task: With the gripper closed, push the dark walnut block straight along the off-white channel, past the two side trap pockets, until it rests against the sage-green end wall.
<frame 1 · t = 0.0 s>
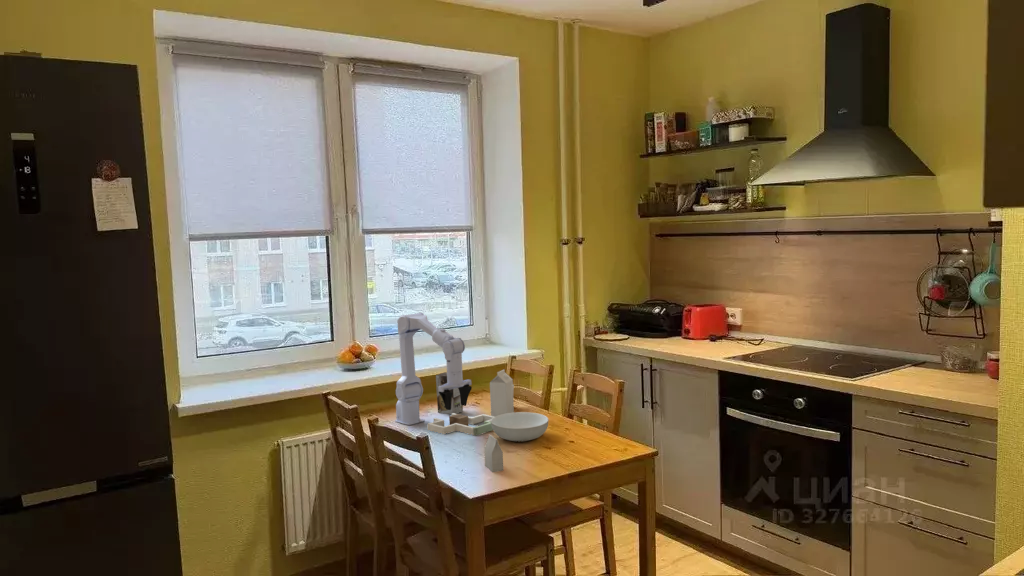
hand: (456, 407, 263), 10 cm above the table, tool pointing down, fingers open, 7 cm apart
trap channel: (464, 427, 273), on the table
coffee box: (450, 412, 297), on the table
gray house block: (494, 468, 225), on the table
cup: (502, 409, 299), on the table
walnut block: (459, 426, 275), resting in trap channel
milk carton: (502, 418, 285), on the table
serving bowl: (520, 438, 257), on the table
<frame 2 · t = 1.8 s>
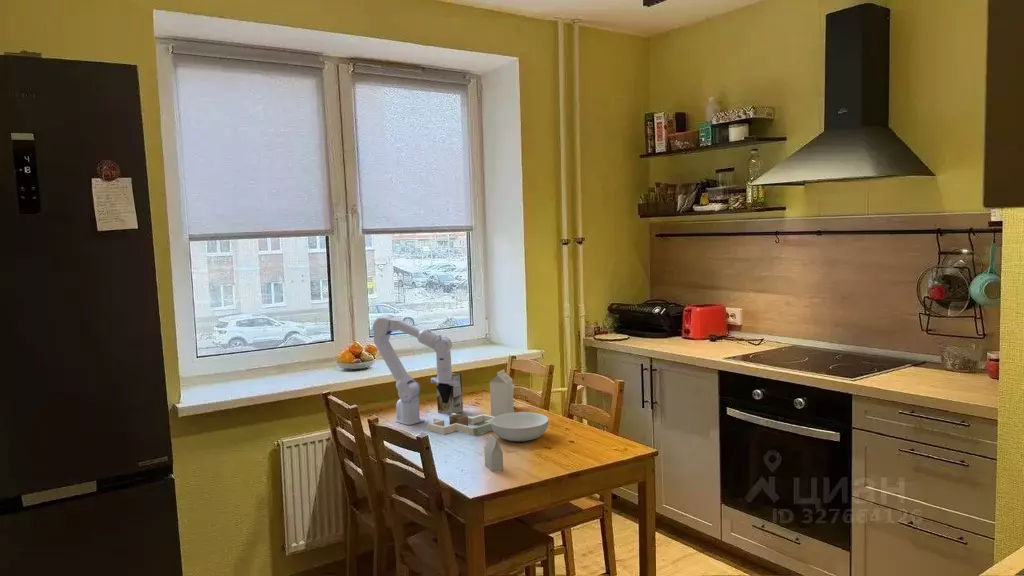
hand: (445, 402, 280), 8 cm above the table, tool pointing down, fingers closed
nothing on the table moved.
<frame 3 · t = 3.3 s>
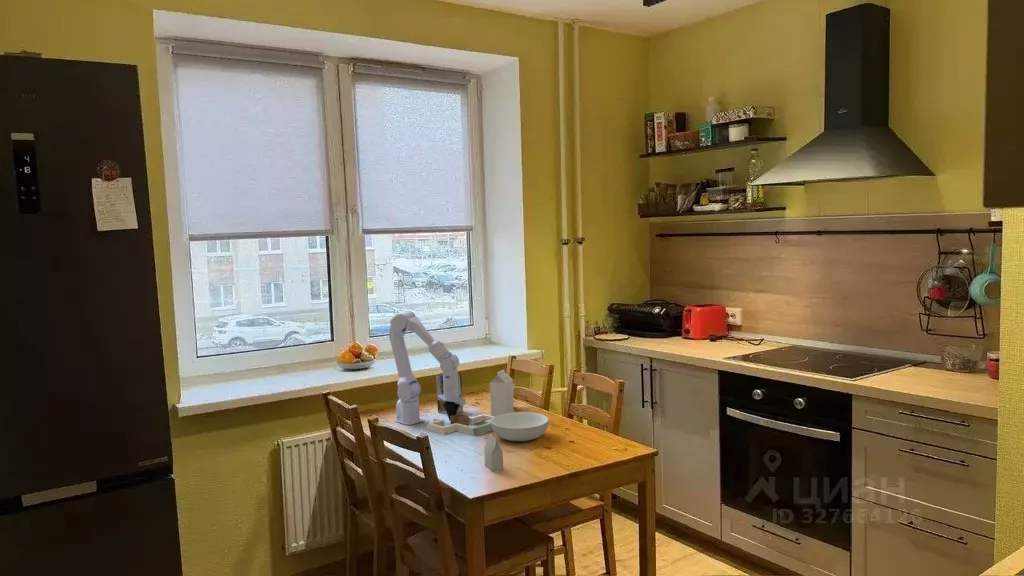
hand: (452, 420, 278), 1 cm above the table, tool pointing down, fingers closed
walnut block: (459, 426, 275), resting in trap channel, touching gripper
everything else where it was.
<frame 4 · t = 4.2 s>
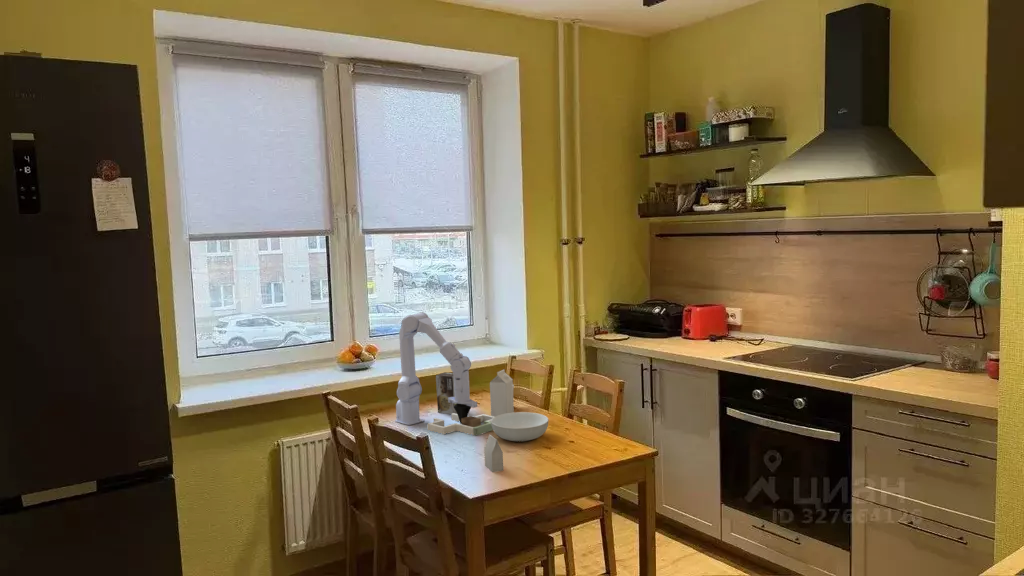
hand: (463, 423, 273), 1 cm above the table, tool pointing down, fingers closed
walnut block: (471, 428, 271), resting in trap channel, touching gripper
everything else where it was.
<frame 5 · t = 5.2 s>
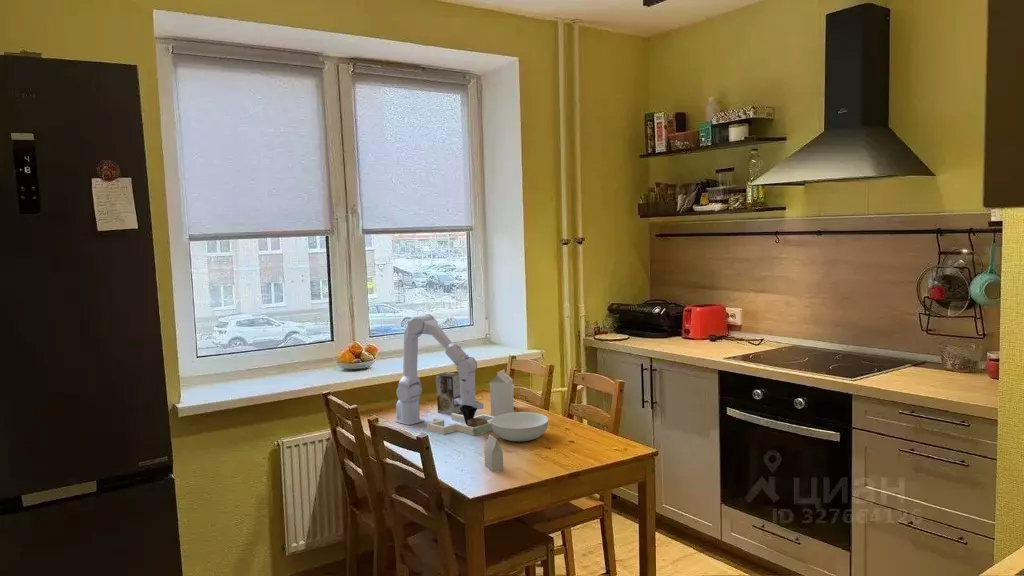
hand: (469, 424, 271), 1 cm above the table, tool pointing down, fingers closed
walnut block: (477, 430, 268), resting in trap channel, touching gripper
everything else where it was.
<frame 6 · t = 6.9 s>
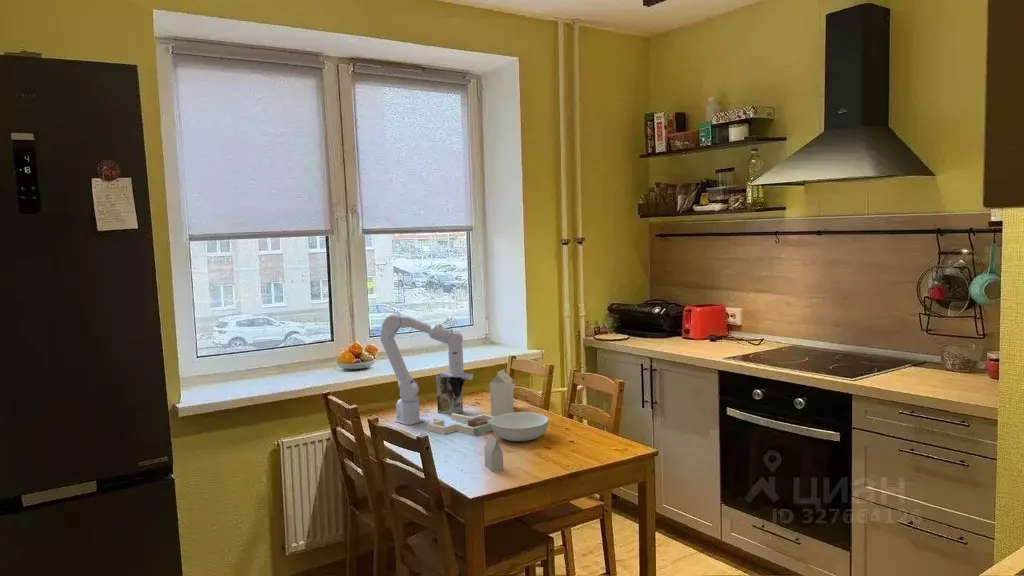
hand: (457, 396, 282), 10 cm above the table, tool pointing down, fingers closed
walnut block: (477, 430, 268), resting in trap channel
everything else where it was.
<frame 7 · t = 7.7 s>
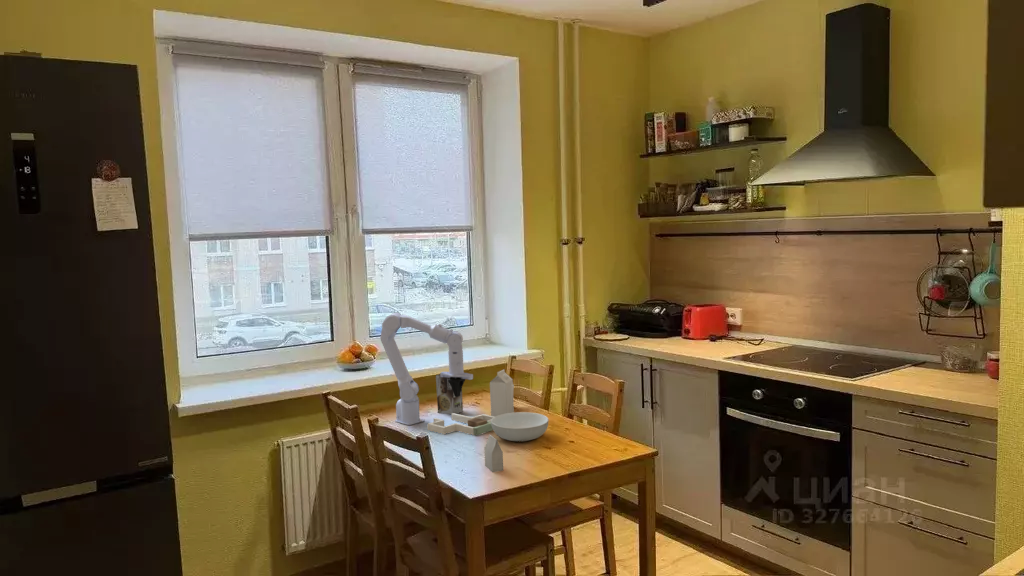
hand: (457, 396, 282), 10 cm above the table, tool pointing down, fingers closed
nothing on the table moved.
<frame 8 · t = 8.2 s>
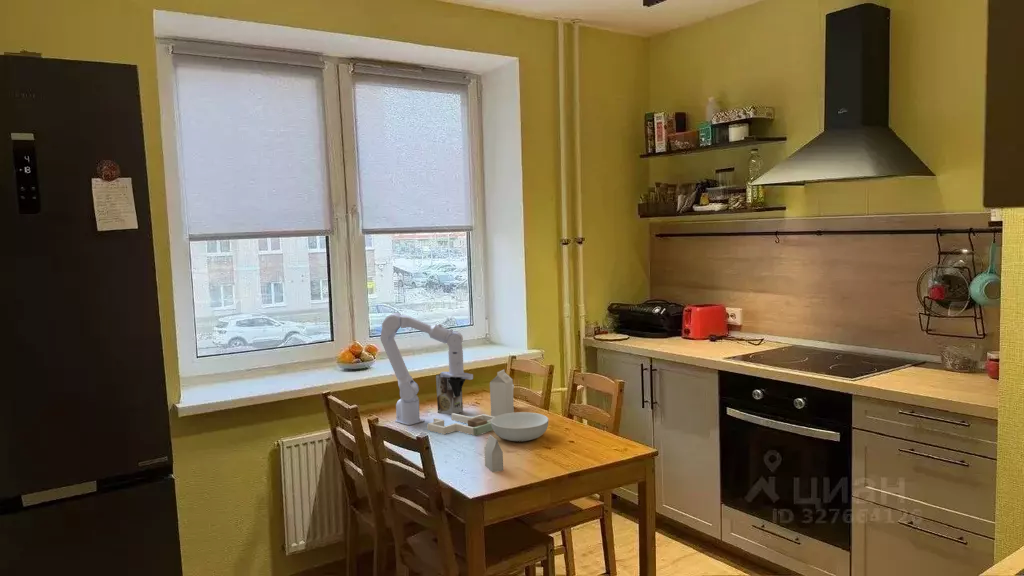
hand: (457, 396, 282), 10 cm above the table, tool pointing down, fingers closed
nothing on the table moved.
at the end: walnut block 0.2 cm from the target spot, resting in trap channel; walnut block tilted 0° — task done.
